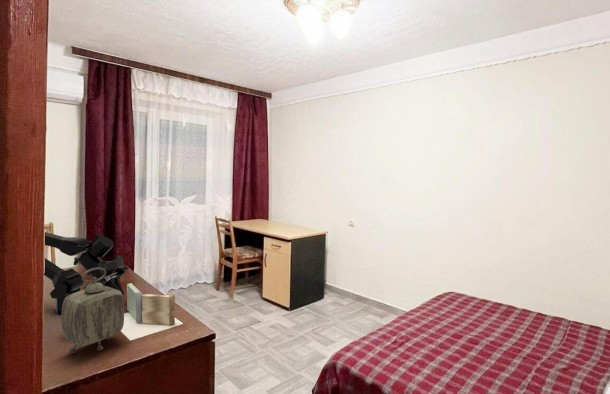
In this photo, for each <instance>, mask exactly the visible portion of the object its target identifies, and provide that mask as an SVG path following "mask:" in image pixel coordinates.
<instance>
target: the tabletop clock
mask: <svg viewBox="0 0 610 394" xmlns="http://www.w3.org/2000/svg"><path fill="white" fill-rule="evenodd" d="M99 269H100V270H103V271H104V272H105V274H104V275H103V276H102V277H100V278H98V279H96V277H93V276H92V279H90V280H86V279H85V278H84V277H85V275H87V273H88V272H90V271H93V270H99ZM105 275H106V270H105V269H104V268H101V267H96V268H92V269H89V270H86V271H84V272H83V274H82V275H81V276H82V280H83V283H86V285H87V284H88V283H90V284H88V285H87V287H86V288H85V290H84V289H82V290H80V291H79V292H76V293H73V294H71V295H69V296H67V297H66V298H65V300H64V302H63V306H62V314H60V315H61V316H60V317H61V318H60V320H61V331H62V334H63V336H64V338H65V340H67V341H70V342H71V343H73V344H74V346H73V348H70V349H69V351H68V354H70V355H73V354H75V353H76V351H77V348H78V346H79V347H85V346H89V345H92V344H95V343H97V345H98V346H97V347H96V350H97V351H98V352H102V351H103V349H104V346H103V345H101V341H103V340H105V339H106V340H111V339H112V336H114V335H116V334H119V333H120V332H121V330H122V328H123V324H124V313H125V300H124V295H122V293H121V291H119V290H116V289H113V288H110V287H107V286H104V285H103V284H102V283H100V282H97V281H99V280H101V279H103V278H104V277H105Z"/></svg>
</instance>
